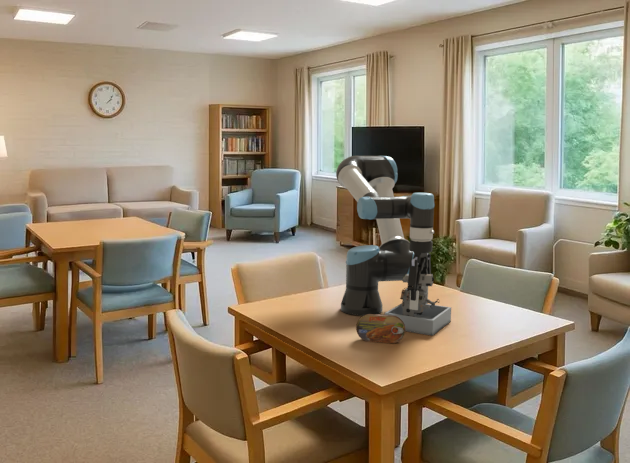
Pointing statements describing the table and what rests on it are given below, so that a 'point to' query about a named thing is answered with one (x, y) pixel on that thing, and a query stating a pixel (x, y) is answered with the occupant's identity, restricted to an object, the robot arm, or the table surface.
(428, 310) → the bin
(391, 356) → the table surface
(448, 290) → the table surface
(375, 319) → the tin
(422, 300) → the figurine
